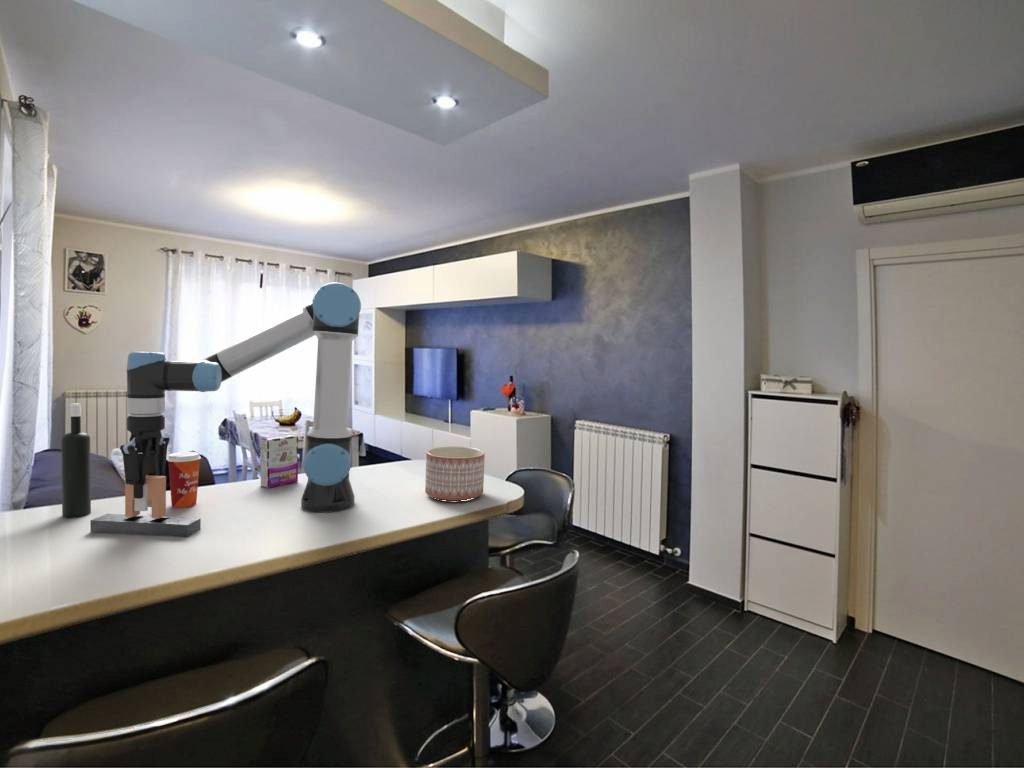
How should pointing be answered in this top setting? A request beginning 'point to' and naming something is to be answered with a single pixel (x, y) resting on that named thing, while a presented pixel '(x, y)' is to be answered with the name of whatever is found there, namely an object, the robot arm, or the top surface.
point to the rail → (146, 525)
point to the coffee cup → (183, 478)
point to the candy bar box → (279, 460)
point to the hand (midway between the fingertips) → (145, 508)
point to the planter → (454, 473)
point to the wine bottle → (76, 468)
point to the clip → (154, 493)
